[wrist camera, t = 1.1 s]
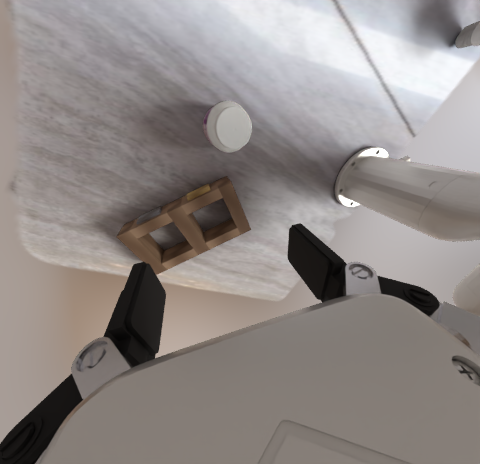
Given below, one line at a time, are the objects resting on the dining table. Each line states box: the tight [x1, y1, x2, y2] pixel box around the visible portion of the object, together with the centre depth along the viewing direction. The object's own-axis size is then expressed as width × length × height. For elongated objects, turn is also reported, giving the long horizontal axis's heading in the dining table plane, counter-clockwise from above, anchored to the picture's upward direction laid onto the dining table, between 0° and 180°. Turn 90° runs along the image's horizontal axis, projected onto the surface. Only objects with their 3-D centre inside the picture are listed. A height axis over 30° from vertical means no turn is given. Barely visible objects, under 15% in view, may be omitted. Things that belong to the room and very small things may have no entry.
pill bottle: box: [203, 101, 252, 153], centre depth 22 cm, size 5×5×10 cm
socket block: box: [117, 176, 251, 275], centre depth 31 cm, size 20×10×4 cm, turn 111°
